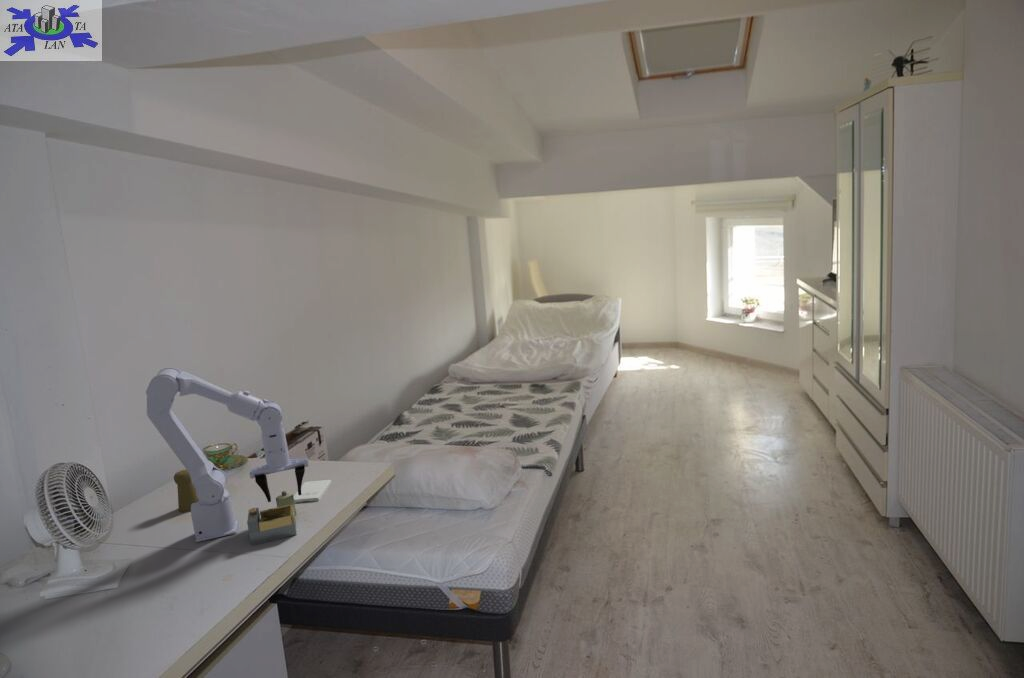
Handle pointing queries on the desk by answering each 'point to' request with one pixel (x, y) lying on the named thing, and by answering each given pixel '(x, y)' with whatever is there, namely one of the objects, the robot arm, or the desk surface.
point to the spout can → (285, 500)
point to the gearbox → (271, 524)
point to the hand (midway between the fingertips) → (284, 497)
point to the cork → (185, 491)
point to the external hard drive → (312, 491)
